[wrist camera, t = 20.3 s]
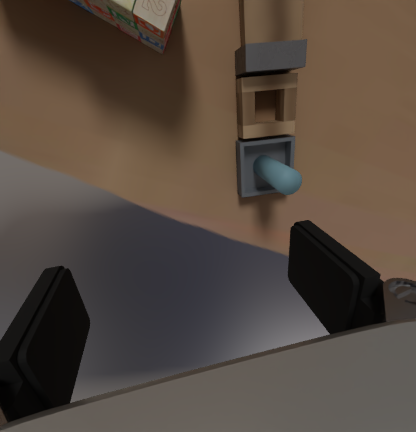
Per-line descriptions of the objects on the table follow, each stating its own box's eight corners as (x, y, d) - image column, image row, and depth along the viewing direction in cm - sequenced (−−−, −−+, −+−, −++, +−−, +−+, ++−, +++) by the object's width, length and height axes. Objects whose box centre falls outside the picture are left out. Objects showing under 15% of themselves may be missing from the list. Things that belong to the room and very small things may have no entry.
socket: (237, 136, 40) (243, 138, 38) (235, 79, 37) (241, 77, 34) (285, 131, 41) (294, 132, 38) (287, 75, 38) (297, 72, 35)
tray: (237, 192, 44) (241, 197, 42) (235, 140, 40) (240, 142, 38) (285, 186, 45) (292, 190, 43) (287, 134, 41) (295, 136, 39)
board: (240, 51, 36) (245, 47, 34) (237, -22, 33) (242, -31, 30) (293, 46, 37) (302, 42, 35) (295, -26, 34) (305, -35, 31)
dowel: (253, 176, 43) (276, 196, 34) (252, 156, 41) (277, 171, 32) (272, 174, 43) (300, 192, 34) (272, 153, 42) (302, 168, 33)
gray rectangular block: (235, 75, 37) (246, 71, 32) (234, 51, 35) (245, 43, 31) (288, 71, 38) (305, 66, 33) (289, 47, 36) (307, 39, 32)
